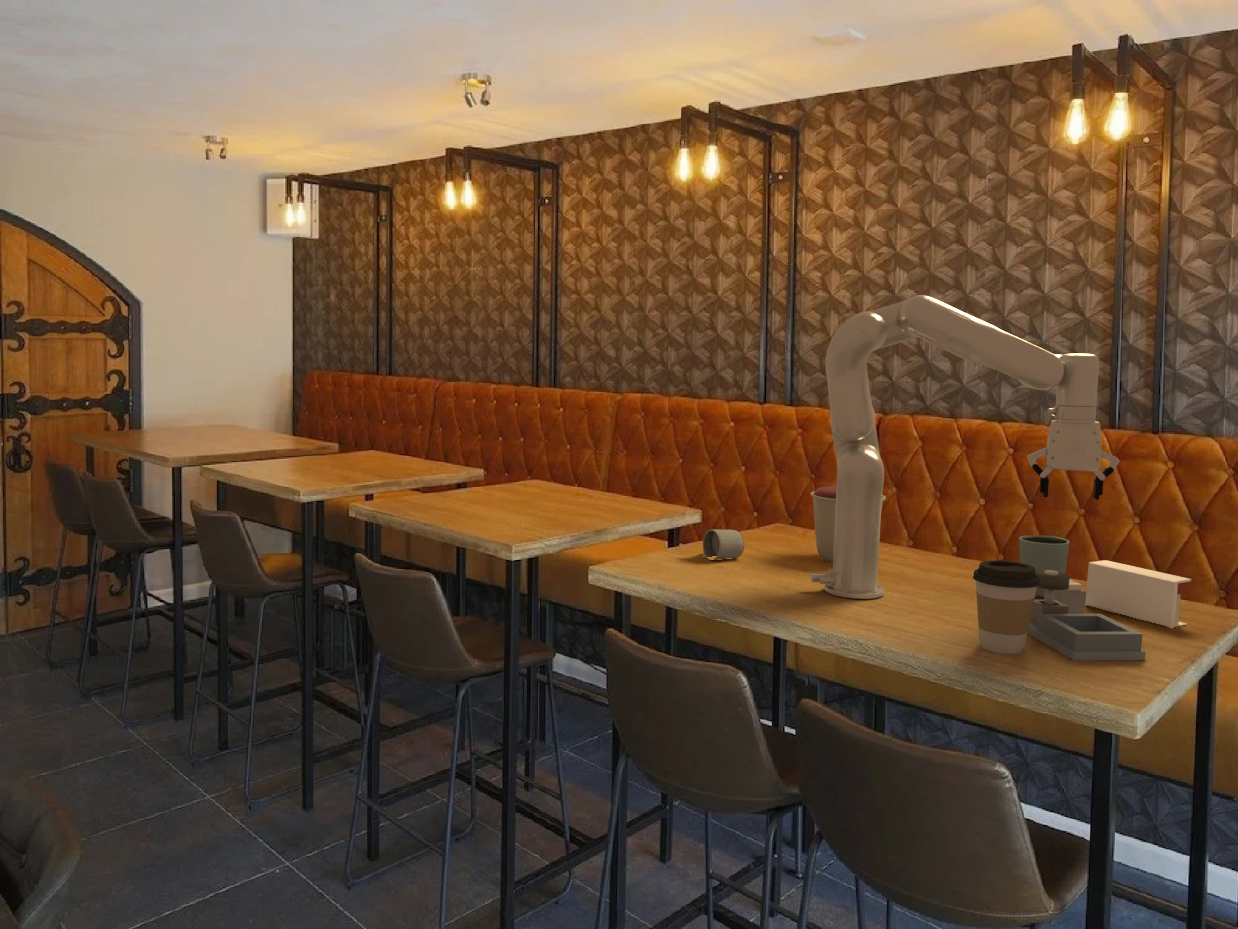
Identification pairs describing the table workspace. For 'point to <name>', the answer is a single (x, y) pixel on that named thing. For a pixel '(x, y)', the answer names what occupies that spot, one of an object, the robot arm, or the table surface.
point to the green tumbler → (1044, 554)
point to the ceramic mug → (723, 544)
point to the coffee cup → (1004, 604)
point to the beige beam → (1134, 592)
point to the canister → (826, 520)
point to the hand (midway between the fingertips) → (1070, 497)
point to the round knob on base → (1052, 584)
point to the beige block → (1072, 598)
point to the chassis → (1084, 634)
